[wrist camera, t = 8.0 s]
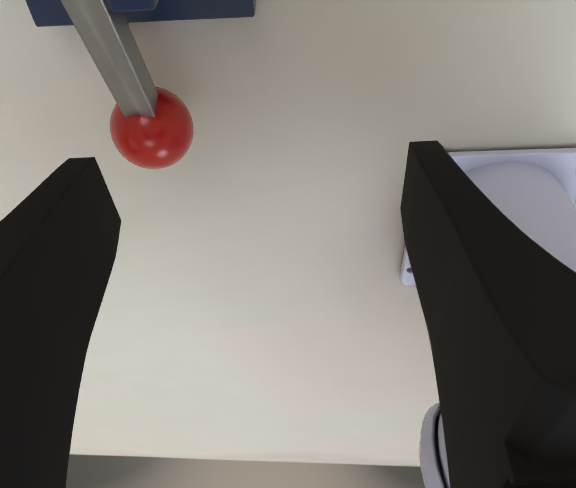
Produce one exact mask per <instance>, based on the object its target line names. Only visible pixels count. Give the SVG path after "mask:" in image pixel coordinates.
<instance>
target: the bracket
mask: <svg viewBox="0 0 576 488" xmlns="http://www.w3.org/2000/svg"><path fill="white" fill-rule="evenodd" d="M108 1H109V5H110V8H111V10H112V11H114V12H122V11H123V13H124V15H125V18H126V20H127V23H129V22H151V21H172V20H194V19H216V18H238V17H253V16H254V15H255V7H256V0H108ZM26 3H27V5H28V7H29V10H30V12H31V15H32V17H33V20H34V22H35V25H36V26H38V27H42V26H63V25H74V24H73V22H72V20H71V18H70V17H69V15H68V13H67V11H66V9H65V8H64V6H63V4H62V2H61V0H26Z"/></svg>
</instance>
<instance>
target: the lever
mask: <svg viewBox="0 0 576 488" xmlns="http://www.w3.org/2000/svg"><path fill="white" fill-rule="evenodd" d="M61 2H62V4H63V6H64V8H65V9H66V11H67V13H68V15H69V17H70V18H71V20H72V22H73V24H74V26H75V28H76V29H77V31H78V33H79V35H80V37H81V39H82V40H83V42H84V44H85V46H86V48H87V50H88V51H89V53H90V55H91V57H92V59H93V60H94V62H95V64H96V66H97V68H98V70H99V71H100V73H101V75H102V77H103V79H104V81H105V82H106V84H107V86H108V88H109V90H110V91H111V93H112V95H113V97H114V99H115V101H116V102H117V104H116V105H115V107H114V109H113V112H112V115H111V119H110V132H111V136H112V140H113V142H114V144H115V146H116V148H117V149H118V151H119V152H120V153H121V154H122V156H123V157H124V158H126V159H127V160H128V161H130V162H131V163H133V164H135V165H137V166H140V167H143V168H147V169H160V168H165V167H168V166H170V165H173V164H174V163H176V162H177V161H179V160H180V159H181V158H182V157H183V156H184V155H185V153H186V152H187V151H188V149H189V147H190V145H191V142H192V138H193V122H192V118H191V115H190V113H189V111H188V109H187V107H186V106H185V104H184V103H183V102H182V101H181V99H179V98H178V97H177V96H176V95H175V94H173V93H171V92H170V91H168V90H165V89H163V88H159V87H155V86H154V84H153V81H152V79H151V77H150V74H149V72H148V70H147V67H146V65H145V63H144V60H143V58H142V56H141V53H140V51H139V48H138V46H137V44H136V41H135V39H134V37H133V34H132V32H131V30H130V27H129V25H128V23H127V20H126V18H125V15H124V13H123V11H122V12H114V11H112V10H111V8H110V5H109V1H108V0H61Z"/></svg>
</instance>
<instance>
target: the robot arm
mask: <svg viewBox="0 0 576 488" xmlns="http://www.w3.org/2000/svg"><path fill="white" fill-rule="evenodd" d="M575 203H576V148H552V149H523V150H494V151H466V152H447V151H446V150H445V149H444V148H443V146H442V145H441V144H440V143H439V142H438V141H418V142H409V149H408V157H407V164H406V172H405V179H404V187H403V194H402V201H401V216H402V224H403V232H404V239H405V249H404V255H403V261H402V267H401V273H400V281H401V283H402V284H403V285H406V286H416V288H417V291H418V295H419V299H420V302H421V306H422V310H423V313H424V317H425V321H426V326H427V330H428V335H429V340H430V345H431V350H432V355H433V361H434V368H435V374H436V380H437V387H438V394H439V401H440V403H437V404H435V405H433V406H432V407H431V408H429V410H428V411H427V413H426V414H425V417H424V419H423V423H422V428H421V438H420V448H419V453H420V465H421V471H422V476H423V480H424V484H425V487H426V488H576V209H575V207H574V205H575ZM120 225H121V219H120V217H119V214H118V212H117V209H116V207H115V205H114V202H113V200H112V197H111V195H110V193H109V190H108V188H107V185H106V183H105V181H104V178H103V176H102V174H101V171H100V169H99V166H98V164H97V162H96V159H95V157H88V158H69V159H68V160H67V161H65V162H64V163H63V164H62V165H61V166H59V167H58V168H57V169H56V170H55V171H54V172H53V173H52V174H51V175H50V176H49V177H48V178H46V179H45V180H44V181H43V182H42V183H41V184H40V185H39V186H38V187H37V188H36V189H35V190H34V191H33V192H32V193H31V194H30V195H29V196H27V197H26V198H25V199H24V200H23V201H22V202H21V203H20V204H19V205H18V206H17V207H16V208H15V209H14V210H12V211H11V212H10V213H9V214H8V215H7V216H6V217H5V218H4V219H3V220H1V221H0V488H65V487H66V478H67V467H68V460H69V453H70V445H71V438H72V430H73V424H74V418H75V411H76V405H77V399H78V393H79V388H80V382H81V377H82V372H83V367H84V362H85V357H86V352H87V348H88V345H89V341H90V337H91V334H92V331H93V328H94V324H95V321H96V318H97V315H98V312H99V309H100V306H101V302H102V299H103V296H104V293H105V290H106V287H107V284H108V280H109V277H110V274H111V271H112V267H113V264H114V260H115V257H116V251H117V245H118V239H119V232H120ZM409 267H410V268H409Z"/></svg>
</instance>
